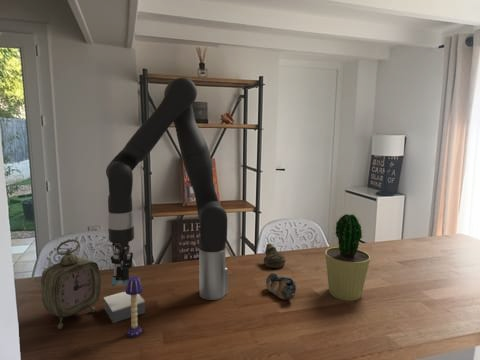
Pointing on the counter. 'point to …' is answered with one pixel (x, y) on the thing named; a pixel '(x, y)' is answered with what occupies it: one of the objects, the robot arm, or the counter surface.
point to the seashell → (273, 257)
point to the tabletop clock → (70, 285)
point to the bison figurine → (281, 286)
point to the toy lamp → (134, 305)
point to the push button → (117, 276)
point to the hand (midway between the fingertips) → (123, 277)
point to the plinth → (122, 306)
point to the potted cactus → (347, 261)
